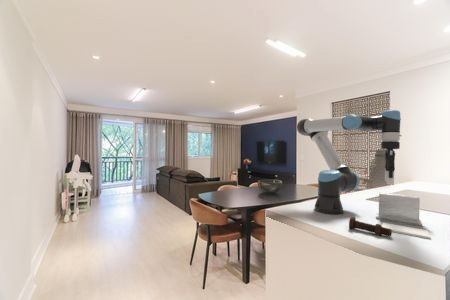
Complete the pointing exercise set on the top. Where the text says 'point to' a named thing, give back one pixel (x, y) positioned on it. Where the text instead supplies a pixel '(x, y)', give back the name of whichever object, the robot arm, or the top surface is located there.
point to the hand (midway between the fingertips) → (389, 183)
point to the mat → (407, 230)
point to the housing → (399, 208)
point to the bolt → (369, 227)
